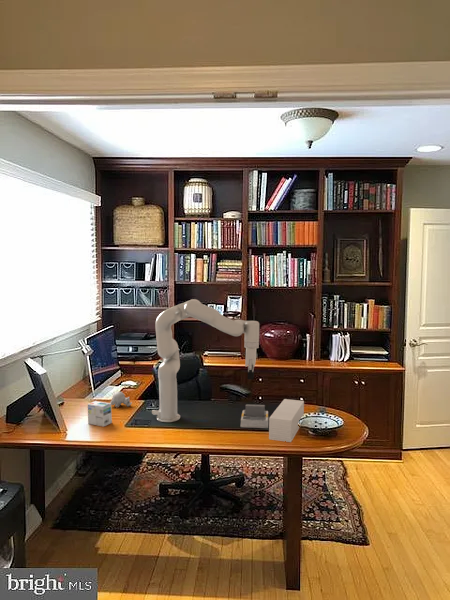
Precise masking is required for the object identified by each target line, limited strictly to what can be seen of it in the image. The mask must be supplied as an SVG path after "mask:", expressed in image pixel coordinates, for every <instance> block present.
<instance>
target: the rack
mask: <svg viewBox="0 0 450 600" xmlns="http://www.w3.org/2000/svg"><path fill="white" fill-rule="evenodd" d="M245 414H246V409H243V410H242V412H241V417H240V428H252V429H253V428H255V429H269V411H268V410H265V417H258V416H245Z"/></svg>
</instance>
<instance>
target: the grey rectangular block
mask: <svg viewBox="0 0 450 600" xmlns="http://www.w3.org/2000/svg"><path fill="white" fill-rule="evenodd" d="M304 410H305V401H304V400H297V399H287V398H284V399H283V400H282V401H281V403H280V404H279V405H278V406H277V407H276V409H275V410H274V411H273V413H272V414H271V415H270V416H269V417H268V439H269V440H271V441H272V440H273V441H279V442H285V441H286V443H292V441H293V439H294V438H295V436H296V435H297V433H298V431H299V430H300V428H299V426H298V422H299V420H300V419H301V417H302V416H303V415H304V416H305V411H304Z"/></svg>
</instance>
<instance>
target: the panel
mask: <svg viewBox="0 0 450 600" xmlns="http://www.w3.org/2000/svg"><path fill="white" fill-rule="evenodd" d="M265 407H266V405H265V404H248V403H247V404H245V410H246V414H245V416H258V417H265V411H266V409H265Z"/></svg>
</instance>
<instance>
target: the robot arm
mask: <svg viewBox="0 0 450 600" xmlns="http://www.w3.org/2000/svg"><path fill="white" fill-rule="evenodd" d="M188 318H193V319H194V320H197V321H201V322H203V323H205V324H207V325H209V326H211V327H213V328H216V329H217V330H219V331H220V332H223V333H225V334H228V335H230V336H233V337H240V336H241V335H243V334H244V341H243V342H244V347H243V348H245V361H244V362H245V364H244V365H245V368H246V367H247V380H252V381H253V380H254V377H255V370H254V368H255V366H256V360H257V349H259V348H260V347H259V345H260V322H259V321H257V320H245V319H244V320H243V319H234V320H233V319H231V318H228V317H227V316H224V315H222V314H221V313H220V311H218V310H217V309H215V308H213V307H210V306H208V305H206V304H203V303H202V302H201V301H200V300H198V299H196V298H194V299H193V298H192V299H190V300H187V301H185V302H182V303H179V304H177V305H173V306H172V307H169V308H167V309H165V310H163V311H162V312H161V313H160V314H159V315H158V316H157V317H156V320H155V335H156V336H155V337H156V349H157V354H158V356H159V357H160V358H162V362H161V363H160V364H159V367H158V368H157V378H158V394H159V395H158V396H159V397H158V399H159V402H158V403H159V404H158V405H159V407H158V408H159V409H158V410H155V409H152V410H151V414H152V415H153V416H156V420H157V421H158V422H162V423H173V422H177V421H179V420H180V419H181V415H180V414H179V413H178V382H177V381H178V380H177V373H179V370H180V367H181V360H180V352H179V345H178V342H177V341H176V339H174V338H173V330H172V326H173V325H174V324H176V323H177V322H179V321H182V320H184V319H188Z"/></svg>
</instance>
